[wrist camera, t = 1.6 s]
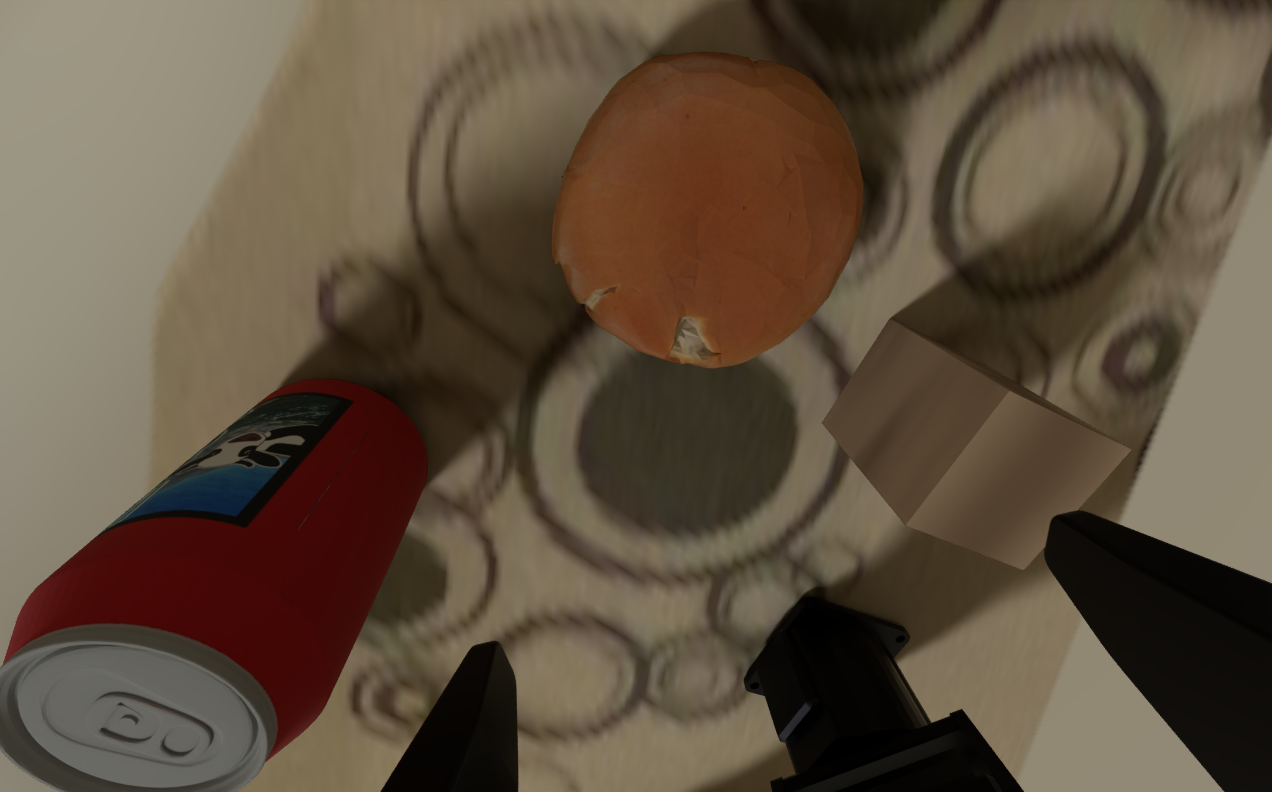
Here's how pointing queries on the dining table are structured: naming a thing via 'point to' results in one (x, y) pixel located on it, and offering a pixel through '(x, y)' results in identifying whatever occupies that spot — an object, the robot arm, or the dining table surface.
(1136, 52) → the dining table surface
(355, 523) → the beverage can
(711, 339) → the burger
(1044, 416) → the walnut block
